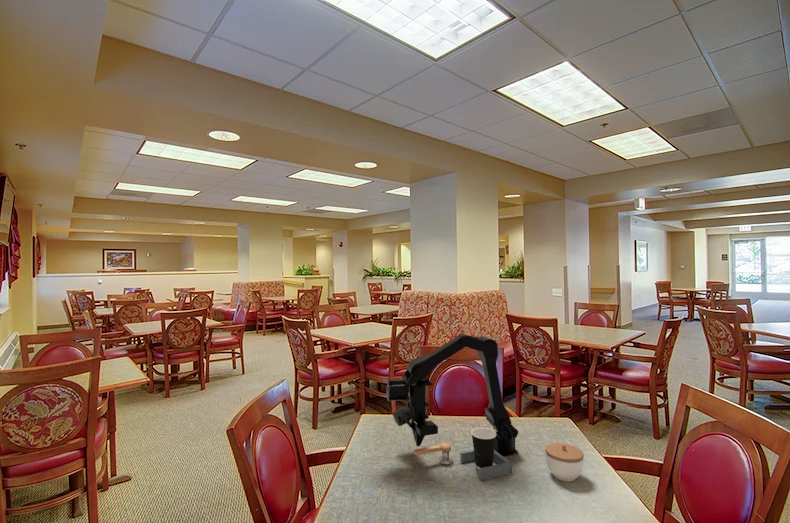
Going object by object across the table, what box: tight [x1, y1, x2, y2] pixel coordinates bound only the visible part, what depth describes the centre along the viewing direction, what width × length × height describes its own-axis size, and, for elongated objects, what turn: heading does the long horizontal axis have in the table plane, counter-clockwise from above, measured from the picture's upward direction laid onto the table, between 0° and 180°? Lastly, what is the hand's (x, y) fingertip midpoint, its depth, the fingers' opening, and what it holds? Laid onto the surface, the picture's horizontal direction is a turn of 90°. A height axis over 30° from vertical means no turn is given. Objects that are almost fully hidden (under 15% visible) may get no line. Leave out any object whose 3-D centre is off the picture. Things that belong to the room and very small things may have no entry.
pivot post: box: [437, 450, 454, 466], centre depth 129 cm, size 5×5×4 cm
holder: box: [459, 448, 513, 481], centre depth 125 cm, size 11×12×3 cm
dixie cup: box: [470, 427, 497, 471], centre depth 125 cm, size 8×8×11 cm
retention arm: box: [413, 442, 452, 456], centre depth 127 cm, size 13×4×1 cm, turn 110°
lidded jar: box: [544, 442, 585, 483], centre depth 119 cm, size 11×11×9 cm
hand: (418, 445), depth 130 cm, fingers closed
